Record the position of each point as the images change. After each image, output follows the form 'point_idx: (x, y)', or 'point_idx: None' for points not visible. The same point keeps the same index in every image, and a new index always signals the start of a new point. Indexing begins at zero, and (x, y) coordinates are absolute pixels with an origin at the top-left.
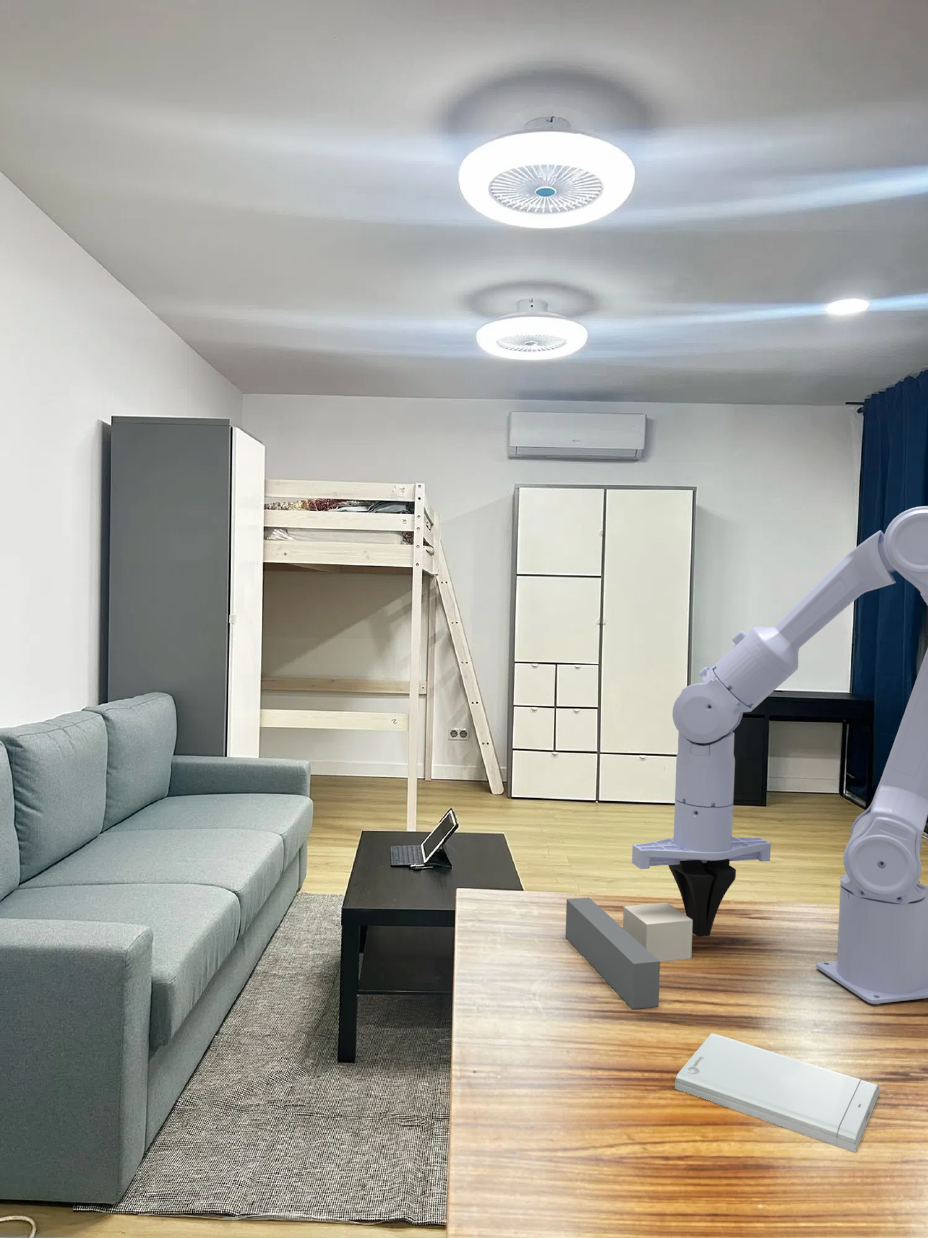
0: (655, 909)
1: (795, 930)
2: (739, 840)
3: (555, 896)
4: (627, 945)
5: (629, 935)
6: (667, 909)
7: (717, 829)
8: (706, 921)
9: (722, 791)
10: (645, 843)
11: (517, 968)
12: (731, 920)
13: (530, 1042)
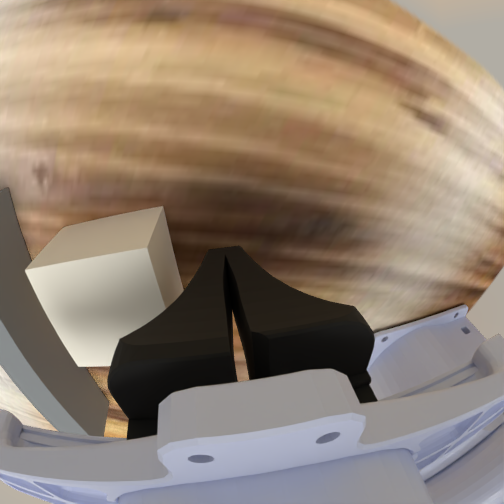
0: (100, 299)
1: (448, 194)
2: (463, 432)
3: None
4: (57, 417)
5: (54, 399)
6: (133, 301)
7: None
8: (235, 319)
9: None
10: (2, 473)
11: None
12: (377, 116)
13: (16, 411)
